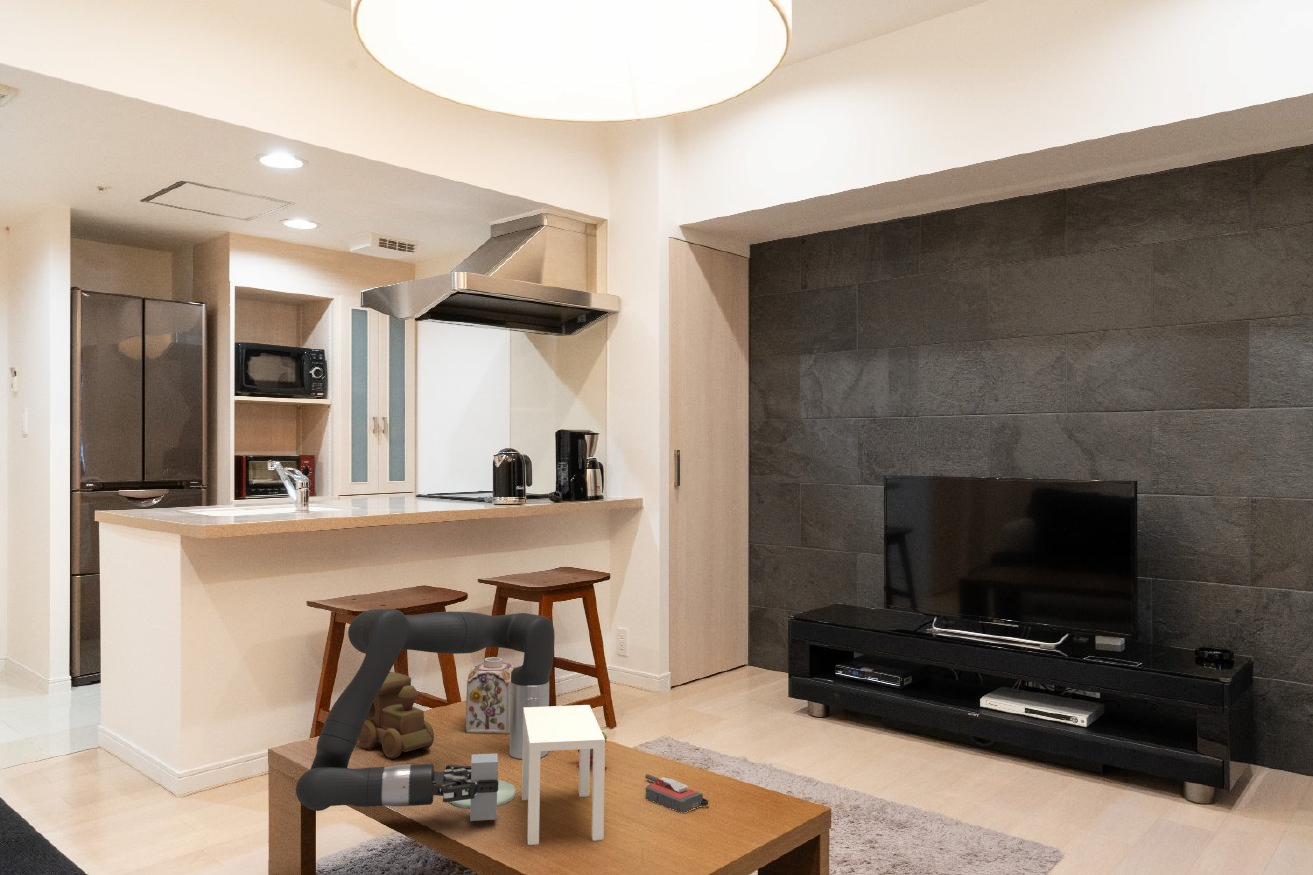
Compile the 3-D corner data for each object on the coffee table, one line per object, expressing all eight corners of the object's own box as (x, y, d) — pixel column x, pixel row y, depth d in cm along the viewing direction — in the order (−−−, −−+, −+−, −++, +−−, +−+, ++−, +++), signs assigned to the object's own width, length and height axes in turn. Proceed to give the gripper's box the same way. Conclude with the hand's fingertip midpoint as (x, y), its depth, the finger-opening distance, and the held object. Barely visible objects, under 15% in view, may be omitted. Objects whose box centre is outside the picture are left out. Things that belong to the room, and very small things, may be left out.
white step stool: (527, 844, 166) (529, 742, 166) (521, 796, 189) (523, 707, 190) (603, 839, 168) (605, 739, 169) (588, 792, 192) (589, 704, 192)
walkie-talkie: (715, 806, 186) (649, 780, 201) (716, 785, 186) (649, 760, 201) (686, 818, 180) (619, 790, 195) (686, 795, 180) (620, 769, 195)
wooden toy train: (350, 745, 221) (351, 677, 221) (390, 734, 230) (391, 669, 230) (398, 764, 208) (399, 691, 209) (438, 752, 217) (440, 682, 217)
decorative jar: (475, 720, 244) (476, 653, 244) (518, 721, 243) (519, 654, 244) (464, 733, 232) (465, 663, 232) (509, 734, 231) (510, 664, 232)
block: (470, 810, 178) (471, 754, 178) (496, 809, 179) (497, 753, 179) (470, 820, 173) (471, 762, 173) (496, 819, 174) (497, 761, 174)
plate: (477, 779, 199) (477, 774, 199) (528, 791, 192) (528, 786, 192) (433, 800, 186) (433, 795, 187) (486, 813, 180) (486, 808, 180)
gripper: (405, 778, 166) (499, 773, 170) (411, 753, 180) (497, 749, 184) (404, 819, 166) (498, 813, 169) (410, 790, 180) (496, 786, 183)
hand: (497, 780), depth 176 cm, fingers closed on block, 5 cm apart
